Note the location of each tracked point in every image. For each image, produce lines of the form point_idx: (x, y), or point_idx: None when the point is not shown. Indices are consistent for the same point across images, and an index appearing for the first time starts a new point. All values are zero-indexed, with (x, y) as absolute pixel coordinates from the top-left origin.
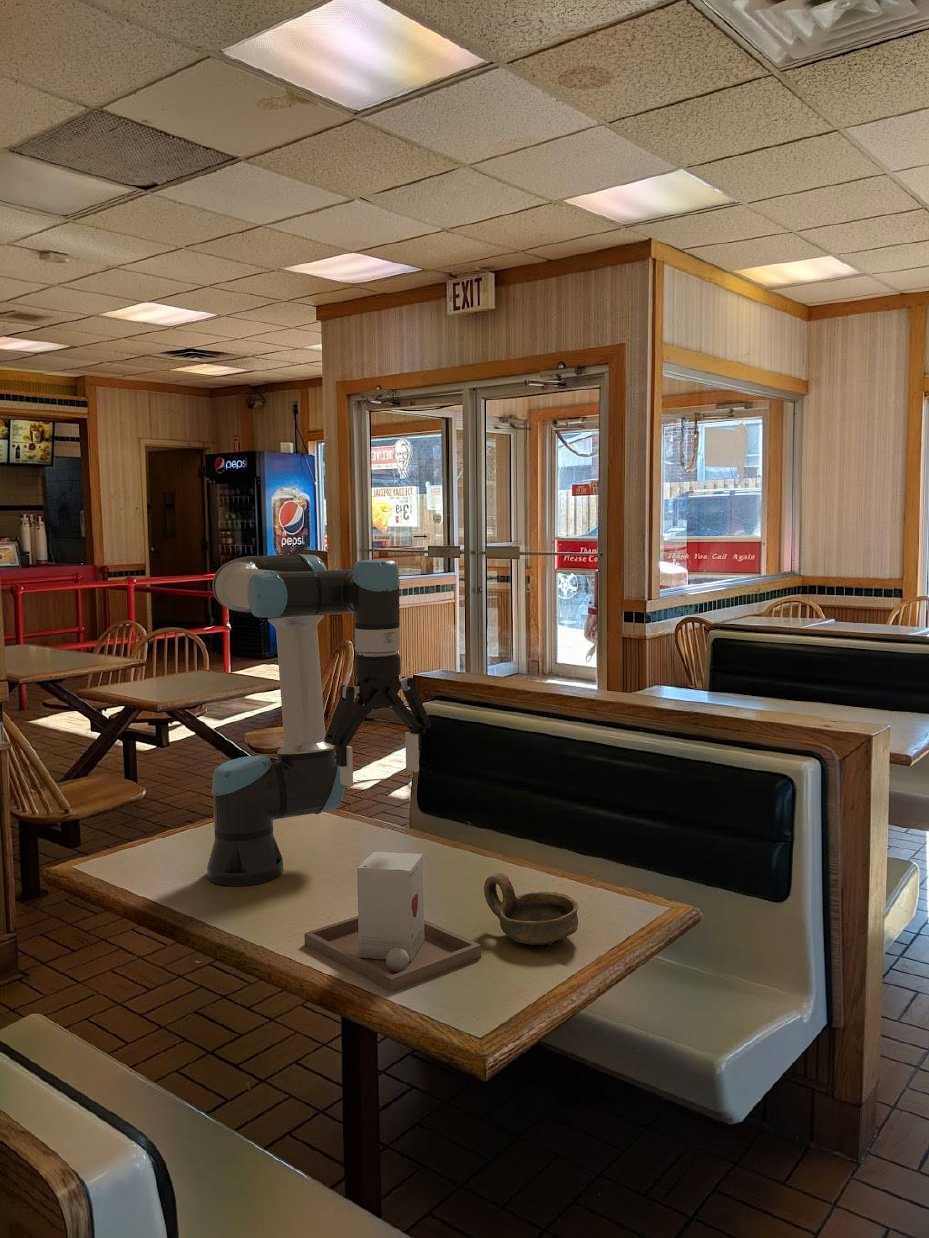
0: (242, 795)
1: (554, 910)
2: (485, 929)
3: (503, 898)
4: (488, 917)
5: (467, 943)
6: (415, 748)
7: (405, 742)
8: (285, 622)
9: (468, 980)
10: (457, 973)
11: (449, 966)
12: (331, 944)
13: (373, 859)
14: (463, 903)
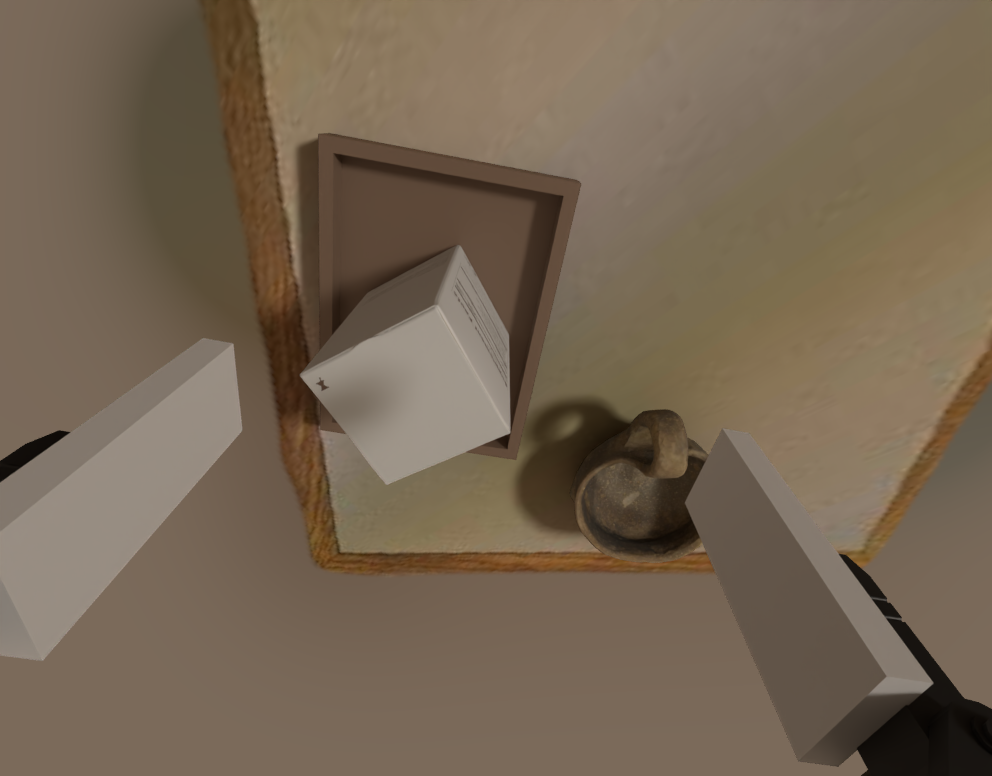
0: None
1: None
2: (631, 379)
3: (634, 465)
4: (688, 349)
5: (509, 438)
6: (745, 635)
7: (818, 578)
8: None
9: (446, 466)
10: None
11: None
12: (328, 242)
13: (378, 364)
14: (741, 257)
